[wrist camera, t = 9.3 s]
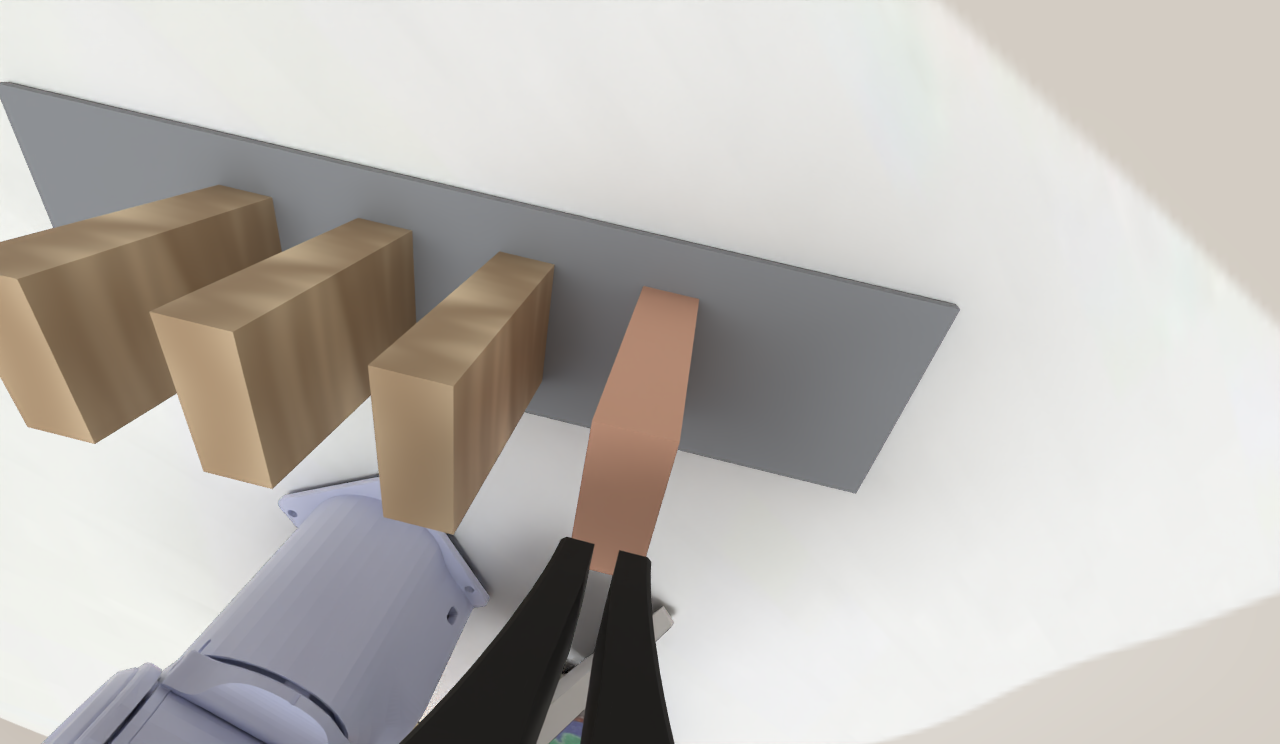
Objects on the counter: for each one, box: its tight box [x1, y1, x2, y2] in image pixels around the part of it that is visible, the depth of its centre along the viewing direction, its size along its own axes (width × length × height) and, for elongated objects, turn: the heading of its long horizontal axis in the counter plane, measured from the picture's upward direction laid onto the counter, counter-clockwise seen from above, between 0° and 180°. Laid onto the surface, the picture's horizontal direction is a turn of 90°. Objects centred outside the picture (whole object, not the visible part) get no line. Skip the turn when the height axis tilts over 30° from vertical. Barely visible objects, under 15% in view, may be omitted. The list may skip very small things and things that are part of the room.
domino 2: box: [149, 218, 416, 489], centre depth 17 cm, size 2×5×8 cm, turn 169°
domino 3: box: [368, 251, 555, 535], centre depth 17 cm, size 2×5×8 cm, turn 169°
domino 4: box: [572, 286, 699, 575], centre depth 17 cm, size 2×5×8 cm, turn 169°
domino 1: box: [0, 185, 282, 444], centre depth 17 cm, size 2×5×8 cm, turn 169°
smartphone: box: [536, 606, 674, 744], centre depth 24 cm, size 8×1×15 cm
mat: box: [0, 82, 960, 493], centre depth 20 cm, size 34×8×1 cm, turn 79°
